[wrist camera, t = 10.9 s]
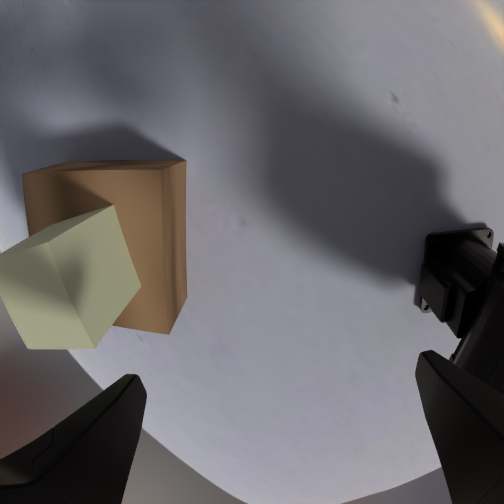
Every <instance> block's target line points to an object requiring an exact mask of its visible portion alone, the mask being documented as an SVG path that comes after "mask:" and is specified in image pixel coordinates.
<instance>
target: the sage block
mask: <svg viewBox="0 0 504 504" xmlns="http://www.w3.org/2000/svg"><path fill="white" fill-rule="evenodd" d="M140 288H141V284H140V281H139V279H138V276H137V273H136V270H135V268H134V265H133V262H132V259H131V256H130V254H129V251H128V248H127V245H126V242H125V239H124V236H123V233H122V230H121V227H120V223H119V220H118V217H117V214H116V211H115V207H114V205H111V206H108V207H105V208H101V209H98V210H95V211H92V212H88V213H85V214H82V215H79V216H76V217H73V218H70V219H67V220H64V221H61V222H58V223H55V224H52V225H50V226H48V227H47V228H45V229H43V230H41V231H39V232H37V233H36V234H34V235H32V236H30V237H28V238H27V239H25V240H23V241H21V242H20V243H18V244H16V245H15V246H13V247H11V248H9V249H8V250H6V251H4V252H3V253H1V254H0V295H1V298H2V300H3V302H4V304H5V306H6V308H7V310H8V312H9V314H10V316H11V318H12V320H13V322H14V324H15V326H16V328H17V330H18V332H19V334H20V335H21V337H22V339H23V341H24V343H25V345H26V346H27V348H28V349H95V347H96V346H97V345H98V343H99V342H100V341H101V339H102V338H103V336H104V335H105V334H106V332H107V331H108V330H109V328H110V327H111V326H112V324H113V323H114V322H115V320H116V319H117V318H118V316H119V315H120V314H121V312H122V311H123V310H124V308H125V307H126V306H127V304H128V303H129V302H130V301H131V299H132V298H133V297H134V295H135V294H136V293H137V291H138V290H139V289H140Z"/></svg>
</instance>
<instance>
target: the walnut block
mask: <svg viewBox="0 0 504 504" xmlns="http://www.w3.org/2000/svg"><path fill="white" fill-rule="evenodd" d="M22 177H23V190H24V200H25V209H26V217H27V225H28V231H29V237H30V236H32V235H34V234H36V233H37V232H39V231H41V230H43V229H45V228H47V227H48V226H50V225H52V224H55V223H58V222H61V221H64V220H67V219H70V218H73V217H76V216H79V215H82V214H85V213H88V212H92V211H95V210H98V209H101V208H105V207H108V206H111V205H114V207H115V211H116V214H117V217H118V220H119V223H120V227H121V230H122V233H123V236H124V239H125V242H126V245H127V248H128V251H129V254H130V256H131V259H132V262H133V265H134V268H135V270H136V273H137V276H138V279H139V281H140V284H141V288H140V289H139V290H138V291H137V293H136V294H135V295H134V297H133V298H132V299H131V301H130V302H129V303H128V304H127V306H126V307H125V308H124V310H123V311H122V312H121V314H120V315H119V316H118V318H117V319H116V320H115V322H114V323H113V324H112V325H113V326H119V327H124V328H130V329H136V330H142V331H148V332H155V333H161V334H168V335H169V334H170V332H171V329H172V327H173V325H174V323H175V321H176V319H177V317H178V315H179V313H180V311H181V309H182V307H183V304H184V302H185V300H186V298H187V274H186V160H118V161H89V162H70V163H62V164H58V165H54V166H50V167H46V168H42V169H39V170H35V171H31V172H28V173H25V174H22Z"/></svg>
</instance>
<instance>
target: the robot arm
mask: <svg viewBox="0 0 504 504" xmlns="http://www.w3.org/2000/svg"><path fill="white" fill-rule="evenodd" d="M488 232H489V234H488ZM487 234H488V236H487ZM493 235H494V234H493V230H492V229H490V228H477V229H468V230H458V231H449V232H440V233H431V234H429V235H428V236H427V237H426V242H425V257H424V263H423V264H422V270H421V281H420V290H419V294H420V295H421V298H420V305H419V308H420V310H421V311H422V312H423V313H429V312H433V313H434V314H435V315H436V317H437V318H438V319H439V321H440V322H442V323H444V322H446V323H447V325H448V326H449V327H450V329H451V330H452V332H453V333H454V334H455V336H456V337H457V338H462V339H461V341H460V342H459V344H458V346H457V348H456V350H455V352H454V354H452V355H451V357H450V358H449V360H447V359H446V358H444V357H443V356H441V355H440V354H438V353H436V352H435V351H433V350H428V351H424V352H421V353H420V354H419V358H418V362H417V367H416V371H415V377H416V381H417V385H418V389H419V393H420V397H421V401H422V405H423V410H424V414H425V417H426V421H427V424H428V426H429V429H430V432H431V435H432V438H433V441H434V444H435V447H436V450H437V453H438V456H439V459H440V462H441V466H442V469H443V472H444V476H445V479H446V482H447V486H448V489H449V493H450V497H451V500H452V504H504V244H503V243H499V245H498V248H497V252H498V253H496V252H495V251H493V250H492V243H493ZM433 238H434V242H433V243H431V240H432V239H433ZM426 305H427V307H425V306H426ZM424 307H425V308H424ZM146 400H147V393H146V390H145V388H144V386H143V384H142V381H141V379H140V377H139V376H138V375H136V374H126V375H124V376H123V377H121V378H120V379H119V380H117V381H116V382H115V383H113V384H112V385H111V386H109V387H108V388H106V389H105V390H104V391H102V392H101V393H100V394H98V395H97V396H96V397H94V398H93V399H92V400H90V401H89V402H87V403H86V404H85V405H83V406H82V407H80V408H79V409H78V410H76V411H75V412H74V413H72V414H71V415H69V416H68V417H67V418H65V419H64V420H62V421H61V422H60V423H59V424H57V425H56V426H54V428H51V429H50V430H48V431H47V432H46V433H44V434H43V435H41V436H40V437H38V438H37V439H35V440H34V441H32V442H30V443H29V444H27V445H25V446H24V447H22V448H20V449H18V450H16V451H15V452H13V453H11V454H9V455H8V456H6V457H4V458H2V459H0V504H121V503H122V499H123V495H124V491H125V487H126V484H127V480H128V476H129V473H130V469H131V465H132V462H133V458H134V455H135V451H136V448H137V444H138V441H139V437H140V432H141V428H142V422H143V416H144V411H145V405H146Z"/></svg>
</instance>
